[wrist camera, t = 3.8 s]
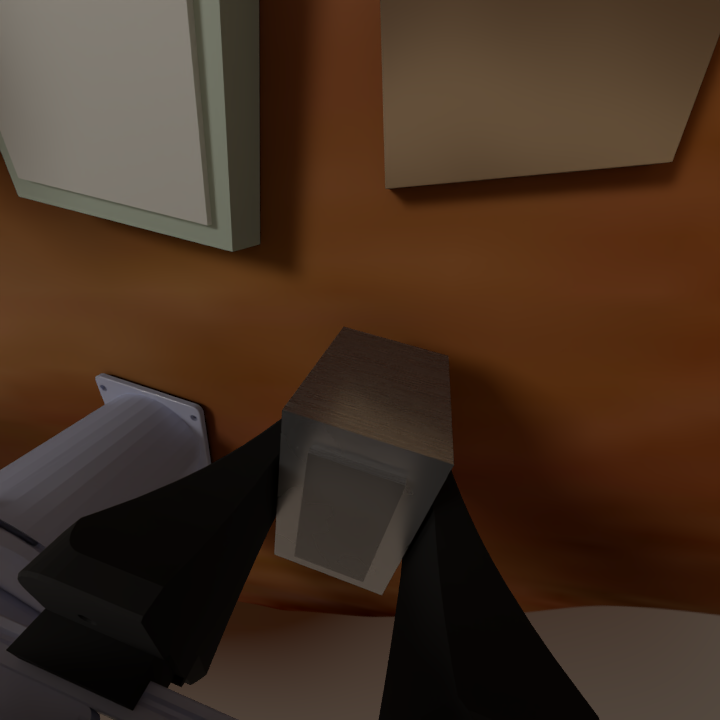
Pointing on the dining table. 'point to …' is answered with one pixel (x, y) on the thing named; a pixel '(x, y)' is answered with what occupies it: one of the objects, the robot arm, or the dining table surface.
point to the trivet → (537, 85)
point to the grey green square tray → (136, 112)
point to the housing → (362, 457)
